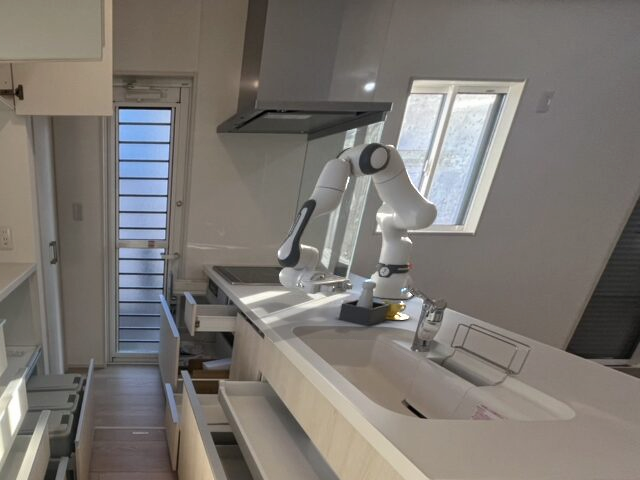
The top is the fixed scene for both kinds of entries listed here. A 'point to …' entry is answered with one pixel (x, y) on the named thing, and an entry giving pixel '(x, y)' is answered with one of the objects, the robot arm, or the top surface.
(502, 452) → the top surface
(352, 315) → the dark grey open box
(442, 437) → the top surface
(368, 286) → the salt shaker
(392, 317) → the cup
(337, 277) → the robot arm
